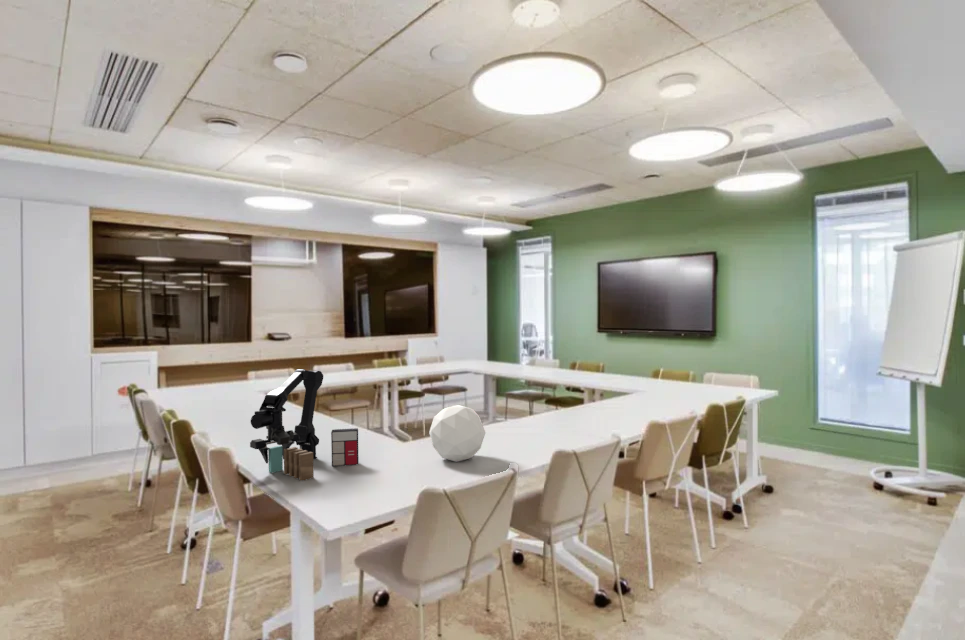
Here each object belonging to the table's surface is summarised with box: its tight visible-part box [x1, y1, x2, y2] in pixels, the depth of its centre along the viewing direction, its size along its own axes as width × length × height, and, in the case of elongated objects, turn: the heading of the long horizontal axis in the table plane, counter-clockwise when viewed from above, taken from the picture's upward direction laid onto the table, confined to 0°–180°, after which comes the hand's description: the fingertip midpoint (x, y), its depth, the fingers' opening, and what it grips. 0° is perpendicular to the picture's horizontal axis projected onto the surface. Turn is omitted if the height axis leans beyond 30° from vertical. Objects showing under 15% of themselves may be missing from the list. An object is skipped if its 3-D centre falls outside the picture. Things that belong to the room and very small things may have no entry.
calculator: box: [330, 427, 360, 467], centre depth 226 cm, size 11×4×15 cm, turn 101°
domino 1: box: [268, 445, 284, 474], centre depth 218 cm, size 2×5×10 cm, turn 138°
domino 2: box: [283, 446, 299, 475], centre depth 216 cm, size 2×5×10 cm, turn 138°
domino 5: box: [298, 452, 314, 481], centre depth 208 cm, size 2×5×10 cm, turn 138°
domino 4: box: [293, 450, 308, 479], centre depth 210 cm, size 2×5×10 cm, turn 138°
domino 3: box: [288, 448, 303, 477], centre depth 213 cm, size 2×5×10 cm, turn 138°
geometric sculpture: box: [428, 404, 486, 463], centre depth 233 cm, size 24×25×25 cm
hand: (275, 461), depth 218 cm, fingers open, 7 cm apart
